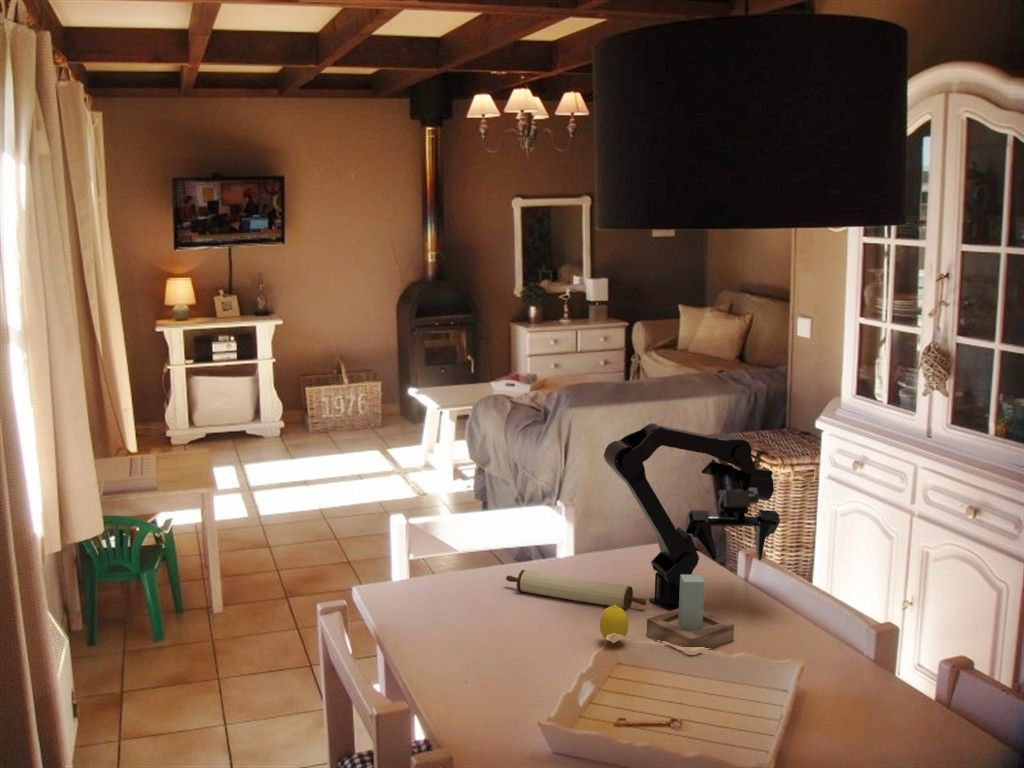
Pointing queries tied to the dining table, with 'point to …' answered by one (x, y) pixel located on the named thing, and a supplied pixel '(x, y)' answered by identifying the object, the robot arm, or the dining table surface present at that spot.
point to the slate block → (691, 602)
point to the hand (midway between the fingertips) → (737, 559)
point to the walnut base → (709, 637)
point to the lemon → (613, 621)
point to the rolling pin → (575, 589)
